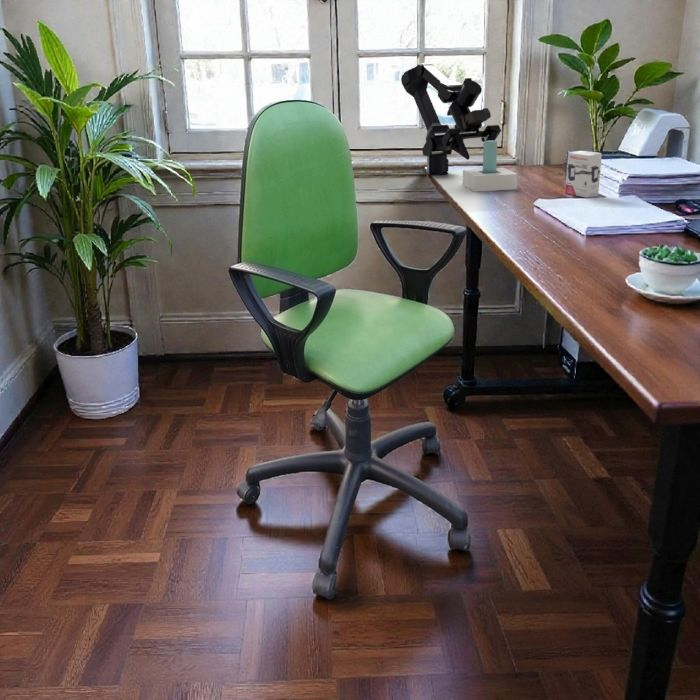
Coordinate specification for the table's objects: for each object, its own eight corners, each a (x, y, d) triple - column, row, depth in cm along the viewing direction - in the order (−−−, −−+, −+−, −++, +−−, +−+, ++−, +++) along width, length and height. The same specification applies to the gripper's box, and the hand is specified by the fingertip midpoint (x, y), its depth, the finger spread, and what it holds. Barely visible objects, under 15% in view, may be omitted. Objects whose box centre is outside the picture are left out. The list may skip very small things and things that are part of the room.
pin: (481, 184, 231) (482, 142, 226) (483, 182, 234) (484, 140, 230) (494, 184, 230) (496, 142, 225) (496, 182, 233) (498, 140, 229)
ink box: (564, 193, 219) (567, 151, 214) (576, 191, 221) (579, 150, 217) (586, 197, 212) (590, 154, 207) (599, 195, 214) (603, 152, 210)
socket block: (474, 191, 226) (474, 176, 224) (462, 184, 238) (462, 169, 236) (516, 189, 227) (517, 174, 226) (502, 182, 239) (503, 167, 237)
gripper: (447, 101, 228) (466, 142, 223) (499, 97, 235) (518, 138, 230) (433, 126, 238) (451, 166, 232) (484, 121, 244) (502, 161, 239)
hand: (481, 157), depth 233 cm, fingers open, 9 cm apart
